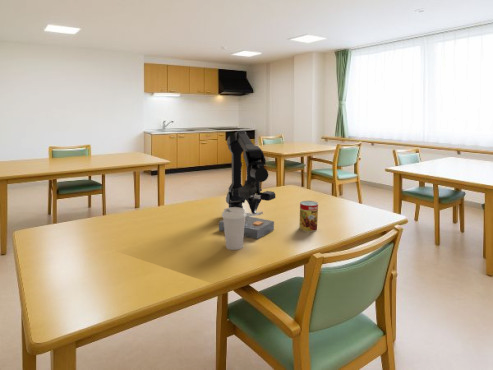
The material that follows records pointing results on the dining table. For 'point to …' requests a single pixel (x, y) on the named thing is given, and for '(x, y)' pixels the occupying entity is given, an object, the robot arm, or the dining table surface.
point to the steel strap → (254, 214)
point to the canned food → (308, 216)
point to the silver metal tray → (254, 227)
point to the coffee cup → (234, 227)
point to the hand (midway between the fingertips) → (253, 213)
